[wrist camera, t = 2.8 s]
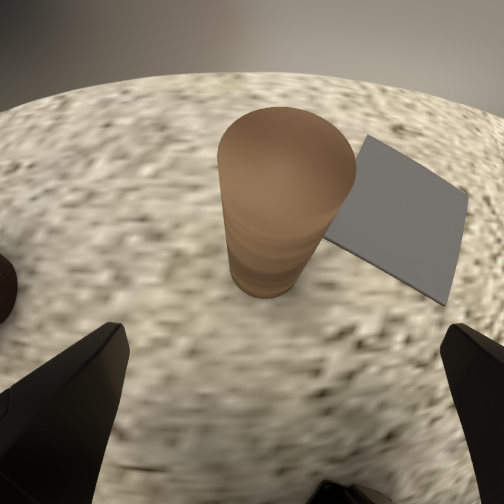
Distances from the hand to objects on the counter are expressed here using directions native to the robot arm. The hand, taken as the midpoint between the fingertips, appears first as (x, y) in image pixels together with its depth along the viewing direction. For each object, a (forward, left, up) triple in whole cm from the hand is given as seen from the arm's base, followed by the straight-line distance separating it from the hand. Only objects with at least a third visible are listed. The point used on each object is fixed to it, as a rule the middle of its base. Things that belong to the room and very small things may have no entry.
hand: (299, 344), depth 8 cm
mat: (+16, -5, -13) cm, 21 cm away
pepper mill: (+6, +3, -13) cm, 15 cm away
